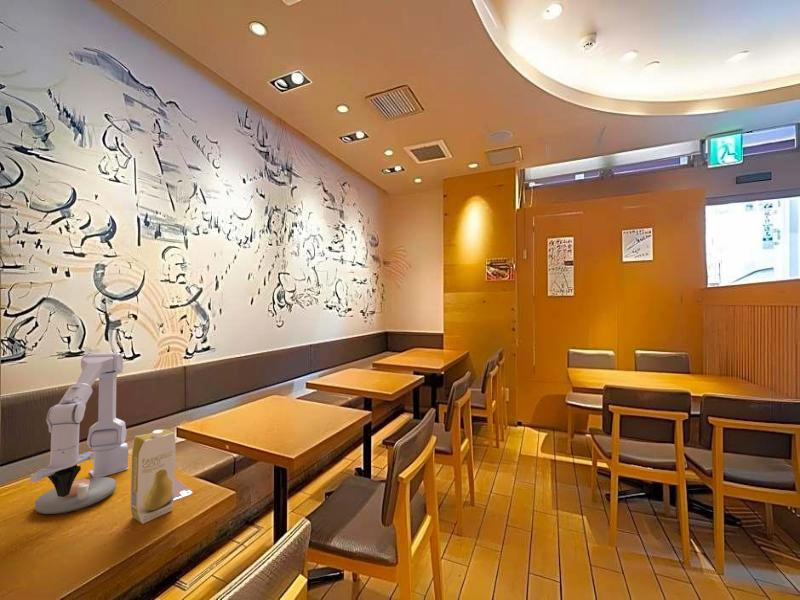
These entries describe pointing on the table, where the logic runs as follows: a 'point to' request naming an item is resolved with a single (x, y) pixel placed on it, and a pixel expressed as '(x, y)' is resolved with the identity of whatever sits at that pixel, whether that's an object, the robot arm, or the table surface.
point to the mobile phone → (180, 490)
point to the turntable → (76, 497)
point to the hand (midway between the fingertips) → (63, 495)
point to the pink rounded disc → (75, 487)
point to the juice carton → (152, 475)
